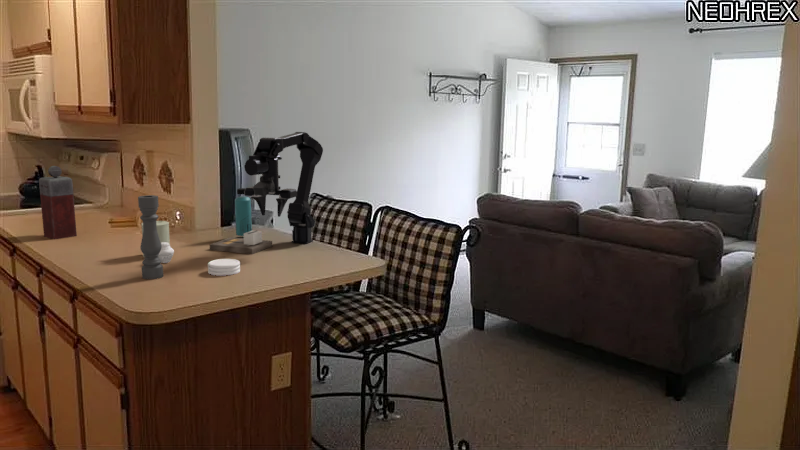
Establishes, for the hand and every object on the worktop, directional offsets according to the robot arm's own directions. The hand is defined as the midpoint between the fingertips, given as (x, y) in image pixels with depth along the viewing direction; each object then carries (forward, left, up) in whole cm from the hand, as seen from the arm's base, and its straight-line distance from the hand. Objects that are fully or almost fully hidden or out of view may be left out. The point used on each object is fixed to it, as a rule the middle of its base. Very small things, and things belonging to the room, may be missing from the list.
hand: (271, 215), depth 235 cm
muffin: (+25, +28, -13) cm, 40 cm away
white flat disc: (-1, +32, -14) cm, 35 cm away
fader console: (+13, 0, -13) cm, 18 cm away
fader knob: (+8, 0, -11) cm, 13 cm away
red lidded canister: (+92, +8, -13) cm, 93 cm away
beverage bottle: (+22, -16, -13) cm, 30 cm away
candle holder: (+16, +45, -13) cm, 49 cm away
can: (+34, +21, -13) cm, 42 cm away
